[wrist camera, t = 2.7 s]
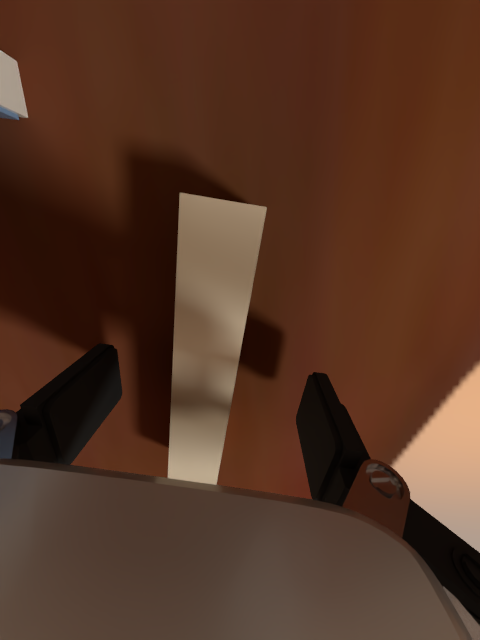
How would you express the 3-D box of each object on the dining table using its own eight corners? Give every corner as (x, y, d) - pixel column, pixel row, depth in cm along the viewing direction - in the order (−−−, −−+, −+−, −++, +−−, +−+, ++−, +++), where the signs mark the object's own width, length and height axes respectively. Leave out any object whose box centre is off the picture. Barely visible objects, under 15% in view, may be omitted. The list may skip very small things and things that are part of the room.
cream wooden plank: (219, 456, 16) (209, 525, 12) (185, 451, 16) (166, 518, 12) (261, 213, 10) (267, 207, 6) (207, 204, 10) (179, 192, 6)
